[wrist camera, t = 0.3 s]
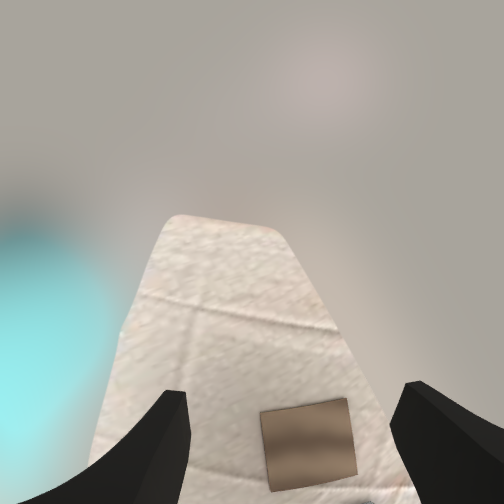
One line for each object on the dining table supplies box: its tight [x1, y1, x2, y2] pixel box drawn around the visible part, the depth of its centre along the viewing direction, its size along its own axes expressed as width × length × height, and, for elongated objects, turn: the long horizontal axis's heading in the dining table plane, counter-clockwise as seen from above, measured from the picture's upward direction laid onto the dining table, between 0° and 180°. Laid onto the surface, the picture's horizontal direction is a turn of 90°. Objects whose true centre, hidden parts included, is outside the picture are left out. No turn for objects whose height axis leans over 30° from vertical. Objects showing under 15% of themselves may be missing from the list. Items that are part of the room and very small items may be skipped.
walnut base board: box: [260, 398, 358, 492], centre depth 31 cm, size 11×11×1 cm
